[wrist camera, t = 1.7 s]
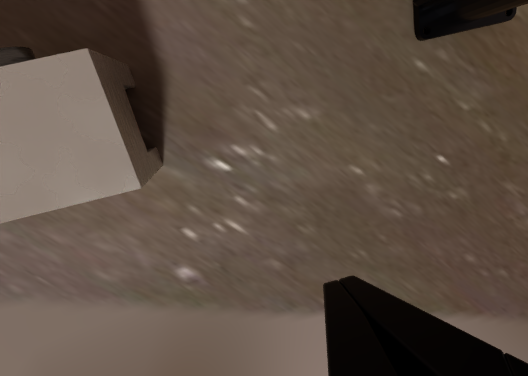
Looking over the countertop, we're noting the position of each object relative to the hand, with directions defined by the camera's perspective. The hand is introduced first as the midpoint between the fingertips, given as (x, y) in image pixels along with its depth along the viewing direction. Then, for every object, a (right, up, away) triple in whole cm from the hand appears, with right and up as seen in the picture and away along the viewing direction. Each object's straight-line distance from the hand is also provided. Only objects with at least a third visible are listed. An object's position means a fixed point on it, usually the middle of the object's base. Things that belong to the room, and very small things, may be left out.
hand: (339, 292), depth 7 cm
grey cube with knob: (-12, +6, +9) cm, 17 cm away
